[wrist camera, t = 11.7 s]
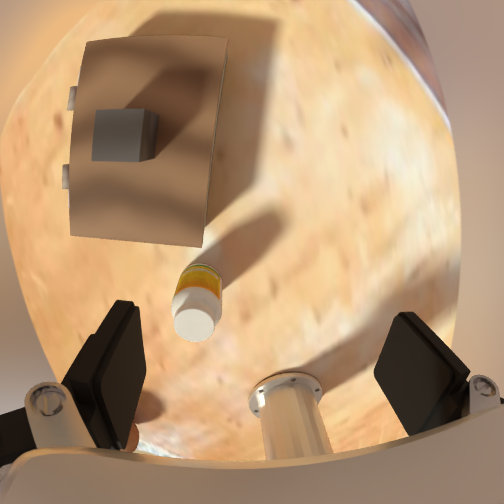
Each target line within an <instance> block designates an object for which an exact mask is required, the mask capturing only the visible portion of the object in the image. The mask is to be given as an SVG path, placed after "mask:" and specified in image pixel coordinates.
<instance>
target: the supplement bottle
mask: <svg viewBox="0 0 504 504" xmlns="http://www.w3.org/2000/svg"><path fill="white" fill-rule="evenodd" d="M171 312H172V315H173V318H174V328H175V331H176V332H177V334H178V335H179V336H180V337H182V338H183V339H185V340H188V341H192V342H199V341H203V340H206V339H208V338H209V337H210V336H211V335H212V333H213V332H214V328H215V326H216V325H217V323H218V322H219V320H220V318H221V315H222V279H221V276H220V275H219V273H218V272H217V271H216V270H215V269H214V268H213V267H211V266H209V265H206V264H201V263H198V264H193V265H190V266H188V267H187V268H186V269H185V270H184V271H183V272H182V274H181V276H180V278H179V281H178V285H177V288H176V291H175V294H174V297H173V301H172V305H171Z"/></svg>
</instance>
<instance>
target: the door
mask: <svg viewBox="0 0 504 504" xmlns="http://www.w3.org/2000/svg"><path fill="white" fill-rule="evenodd" d="M227 46H228V38H226V37H213V36H195V35H151V36H133V37H121V38H111V39H103V40H96V41H89V42H87V43H86V47H85V51H84V55H83V60H82V65H81V70H80V75H79V80H78V86H73V87H70V93H69V100H68V107H67V110H69V111H74V114H73V122H72V133H71V145H70V164H65V165H63V176H62V189H69V216H70V234H71V236H79V237H90V238H101V239H112V240H122V241H133V242H144V243H154V244H165V245H176V246H187V247H197V248H202V244H203V233H204V222H205V211H206V200H207V190H208V181H209V172H210V163H211V155H212V146H213V138H214V131H215V123H216V116H217V109H218V102H219V95H220V89H221V82H222V76H223V70H224V64H225V58H226V52H227Z"/></svg>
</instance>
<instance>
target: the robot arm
mask: <svg viewBox="0 0 504 504" xmlns="http://www.w3.org/2000/svg"><path fill="white" fill-rule="evenodd" d="M469 373H470V370H469V369H468V368H467V366H465V364H464V363H463V362H462V361H461V360H460V359H459V358H458V357H457V356H456V355H455V354H454V353H453V351H452V350H451V349H450V348H449V347H448V346H447V345H446V344H445V343H444V342H443V341H442V340H441V339H440V338H439V337H438V336H437V335H436V334H435V333H434V332H433V331H432V330H431V329H430V328H429V327H428V326H427V325H426V324H425V323H424V322H423V321H422V320H421V319H420V318H419V317H418V316H417V315H416V314H415V313H414V312H400V313H399V314H398V315H397V316H396V317H395V318H394V320H393V322H392V325H391V328H390V331H389V333H388V336H387V339H386V341H385V344H384V346H383V349H382V351H381V354H380V356H379V359H378V361H377V363H376V366H375V368H374V377H375V379H376V380H377V382H378V384H379V385H380V387H381V389H382V391H383V392H384V394H385V396H386V397H387V399H388V401H389V402H390V404H391V406H392V408H393V409H394V411H395V413H396V415H397V416H398V418H399V420H400V422H401V423H402V425H403V427H404V429H405V430H406V432H407V434H408V435H409V437H405V438H402V439H398V440H395V441H391V442H387V443H383V444H379V445H375V446H370V447H366V448H361V449H356V450H351V451H345V452H340V453H333V450H332V447H331V444H330V441H329V438H328V435H327V432H326V429H325V426H324V423H323V420H322V417H321V414H320V411H319V408H318V403H319V402H320V400H321V397H322V388H321V385H320V383H319V381H318V380H317V379H316V378H314V377H312V376H310V375H308V374H304V373H283V374H279V375H275V376H273V377H270V378H268V379H266V380H264V381H262V382H261V383H259V384H258V385H257V386H256V387H255V388H254V389H253V390H252V391H251V393H250V395H249V401H248V402H249V408H250V410H251V412H252V413H253V414H254V415H255V416H257V417H258V418H260V421H261V428H262V435H263V442H264V448H265V455H266V460H263V461H214V460H195V459H181V458H170V457H161V456H152V455H146V454H139V453H131V452H124V451H120V449H123V450H125V448H126V446H127V442H128V438H129V434H130V430H131V426H132V422H133V419H134V415H135V411H136V408H137V404H138V400H139V397H140V393H141V390H142V386H143V383H144V380H145V376H146V362H145V355H144V347H143V339H142V330H141V320H140V310H139V307H138V306H134V303H133V302H132V301H124V300H116V302H115V303H114V305H113V306H112V308H111V309H110V311H109V312H108V314H107V315H106V317H105V318H104V320H103V322H102V323H101V325H100V326H99V328H98V330H97V331H96V333H95V334H91V335H90V336H89V337H88V339H87V340H86V342H85V344H84V345H83V347H82V348H81V350H80V352H79V353H78V355H77V357H76V358H75V360H74V362H73V363H72V365H71V367H70V368H69V370H68V372H67V374H66V375H65V377H64V379H63V381H62V382H61V384H59V383H56V382H42V383H40V384H37V385H35V386H34V387H33V388H31V389H30V390H29V391H28V393H27V394H26V397H25V407H23V408H21V409H17V410H14V411H11V412H8V413H5V414H2V415H0V504H504V399H503V398H501V397H500V394H499V389H498V387H497V385H496V384H495V382H493V381H492V380H491V379H490V378H488V377H486V376H483V375H474V376H472V377H471V379H470V380H469V382H467V381H466V379H467V377H468V375H469Z"/></svg>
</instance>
